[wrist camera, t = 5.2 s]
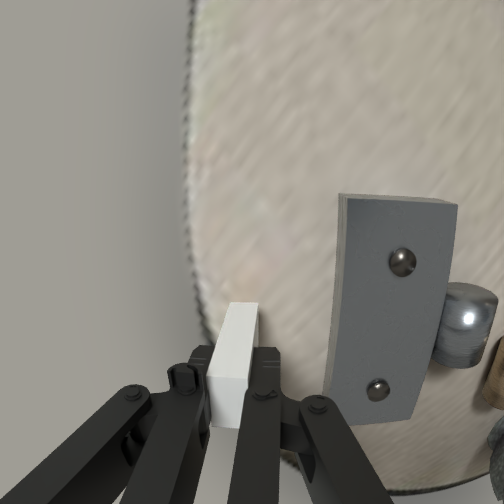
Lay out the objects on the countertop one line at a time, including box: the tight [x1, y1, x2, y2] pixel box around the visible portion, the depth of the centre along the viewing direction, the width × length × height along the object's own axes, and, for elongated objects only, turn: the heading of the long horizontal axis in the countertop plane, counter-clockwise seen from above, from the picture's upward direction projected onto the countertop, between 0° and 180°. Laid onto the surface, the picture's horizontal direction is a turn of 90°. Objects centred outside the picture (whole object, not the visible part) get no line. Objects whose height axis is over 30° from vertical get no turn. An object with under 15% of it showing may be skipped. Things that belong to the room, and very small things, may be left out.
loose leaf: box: [322, 194, 498, 426], centre depth 16 cm, size 14×10×4 cm
